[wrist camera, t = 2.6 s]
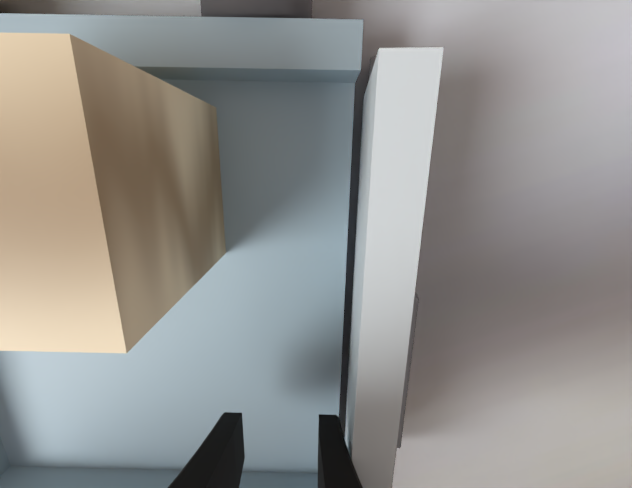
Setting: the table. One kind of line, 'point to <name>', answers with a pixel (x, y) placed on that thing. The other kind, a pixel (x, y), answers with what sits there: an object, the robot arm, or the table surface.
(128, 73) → the light wooden block
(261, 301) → the truck bed
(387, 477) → the tailgate
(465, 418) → the table surface
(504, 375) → the table surface
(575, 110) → the table surface
